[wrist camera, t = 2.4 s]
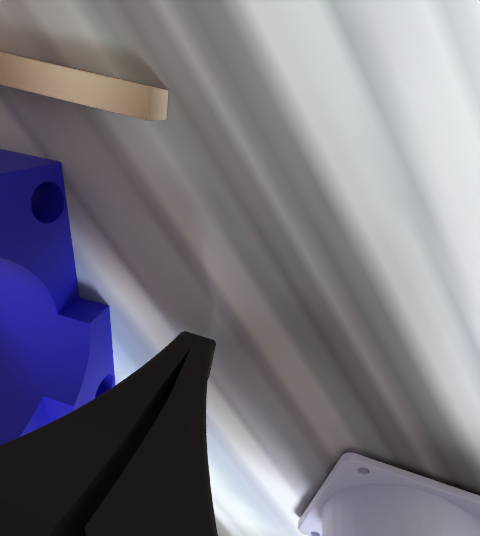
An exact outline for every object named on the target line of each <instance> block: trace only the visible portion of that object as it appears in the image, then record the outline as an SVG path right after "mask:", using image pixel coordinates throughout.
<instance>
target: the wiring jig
mask: <svg viewBox="0 0 480 536" xmlns="http://www.w3.org/2000/svg"><path fill="white" fill-rule="evenodd" d="M0 85H4V86H8V87H12V88H16V89H20V90H24V91H29V92H33V93H37V94H41V95H45V96H49V97H53V98H57V99H61V100H65V101H70V102H74V103H78V104H82V105H86V106H90V107H94V108H98V109H102V110H106V111H111V112H115V113H119V114H123V115H127V116H131V117H135V118H139V119H143V120H147V121H149V120H167V105H168V91H169V90H165V89H160V88H156V87H152V86H147V85H143V84H139V83H135V82H130V81H126V80H122V79H117V78H113V77H109V76H104V75H100V74H96V73H91V72H87V71H83V70H78V69H74V68H70V67H65V66H61V65H57V64H52V63H48V62H44V61H39V60H35V59H31V58H26V57H22V56H18V55H13V54H9V53H5V52H0Z"/></svg>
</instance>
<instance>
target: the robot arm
mask: <svg viewBox="0 0 480 536" xmlns="http://www.w3.org/2000/svg"><path fill="white" fill-rule="evenodd" d="M215 346H216V342H215V341H214V340H212V339H209V338H205V337H202V336H199V335H196V334H193V333H190V332H186V331H183V332H181V333H180V334H179V335H178V336H177V337H176V338H175V339H174V340H173V341H172V342H171V343H170V344H169V345H168V346H166V347H165V348H164V349H163V350H162V351H161V352H159V353H158V354H157V355H156V356H155V357H153V358H152V359H151V360H150V361H148V362H147V363H146V364H145V365H143V366H142V367H141V368H139V369H138V370H137V371H135V372H134V373H133V374H131V375H130V376H128V377H127V378H126V379H124V380H123V381H121V382H120V383H118V384H117V385H116V386H114V387H112V388H111V389H109V390H108V391H106V392H105V393H103V394H101V395H100V396H98V397H97V398H95V399H93V400H91V401H90V402H88V403H86V404H84V405H83V406H81V407H79V408H77V409H76V410H74V411H72V412H70V413H68V414H66V415H64V416H62V417H61V418H58V419H56V420H54V421H52V422H50V423H48V424H46V425H44V426H42V427H40V428H38V429H36V430H34V431H32V432H30V433H27V434H25V435H23V436H21V437H18V438H16V439H13V440H11V441H9V442H6V443H4V444H1V445H0V536H218V534H217V529H216V522H215V516H214V509H213V502H212V494H211V487H210V476H209V466H208V456H207V439H206V394H207V381H208V378H209V375H210V370H211V365H212V360H213V356H214V351H215ZM298 529H299V531H300V532H301V533H303V534H305V535H308V536H480V496H479V495H476V494H473V493H470V492H467V491H465V490H462V489H459V488H456V487H453V486H450V485H447V484H444V483H441V482H438V481H435V480H432V479H429V478H426V477H423V476H420V475H417V474H415V473H412V472H409V471H406V470H403V469H400V468H397V467H394V466H391V465H388V464H385V463H382V462H379V461H376V460H373V459H370V458H368V457H365V456H362V455H359V454H356V453H345V454H343V455H342V456H341V458H340V459H339V461H338V462H337V464H336V465H335V467H334V468H333V470H332V471H331V473H330V474H329V476H328V477H327V479H326V480H325V482H324V483H323V485H322V486H321V488H320V489H319V491H318V492H317V494H316V495H315V497H314V498H313V500H312V501H311V503H310V504H309V506H308V507H307V509H306V510H305V512H304V513H303V515H302V516H301V518H300V519H299V521H298Z"/></svg>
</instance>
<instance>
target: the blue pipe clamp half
mask: <svg viewBox="0 0 480 536" xmlns="http://www.w3.org/2000/svg"><path fill="white" fill-rule="evenodd" d="M114 386H115V375H114V362H113V349H112V336H111V323H110V310H109V306H108V305H104V304H101V303H97V302H94V301H90V300H86V299H83V298H79V291H78V283H77V276H76V269H75V261H74V254H73V246H72V239H71V232H70V224H69V217H68V210H67V202H66V195H65V187H64V180H63V173H62V165H61V162H58V161H53V160H48V159H44V158H39V157H35V156H30V155H25V154H21V153H16V152H12V151H7V150H2V149H0V445H1V444H4V443H6V442H9V441H11V440H13V439H16V438H18V437H21V436H23V435H25V434H27V433H30V432H32V431H34V430H36V429H38V428H40V427H42V426H44V425H46V424H48V423H50V422H52V421H54V420H56V419H58V418H61V417H62V416H64V415H66V414H68V413H70V412H72V411H74V410H76V409H77V408H79V407H81V406H83V405H84V404H86V403H88V402H90V401H91V400H93V399H95V398H97V397H98V396H100V395H101V394H103V393H105V392H106V391H108V390H109V389H111V388H112V387H114Z"/></svg>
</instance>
